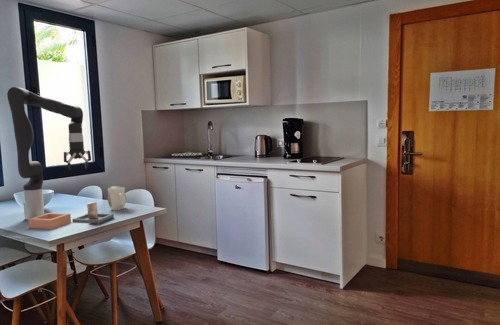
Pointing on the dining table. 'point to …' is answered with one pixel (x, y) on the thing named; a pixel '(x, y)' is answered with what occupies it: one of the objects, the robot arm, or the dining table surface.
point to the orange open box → (49, 220)
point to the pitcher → (116, 197)
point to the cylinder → (92, 210)
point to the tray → (100, 220)
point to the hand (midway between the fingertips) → (78, 169)
